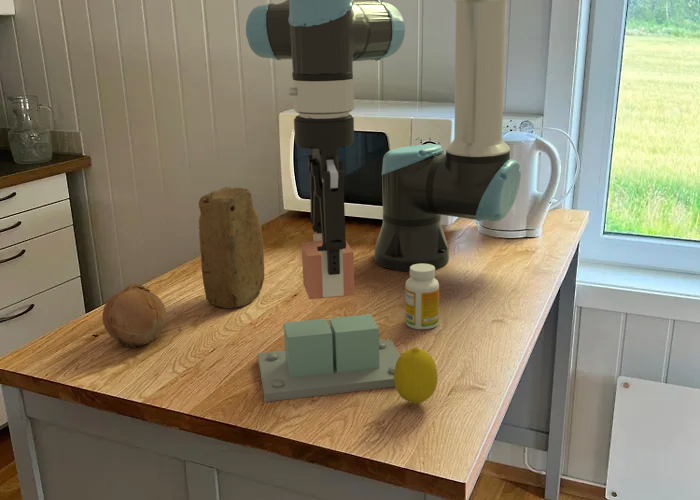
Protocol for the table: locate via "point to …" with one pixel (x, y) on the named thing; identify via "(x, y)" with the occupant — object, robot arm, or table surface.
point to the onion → (134, 316)
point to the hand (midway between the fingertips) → (328, 286)
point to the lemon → (415, 375)
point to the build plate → (326, 381)
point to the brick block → (314, 270)
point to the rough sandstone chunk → (230, 247)
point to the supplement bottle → (422, 297)
